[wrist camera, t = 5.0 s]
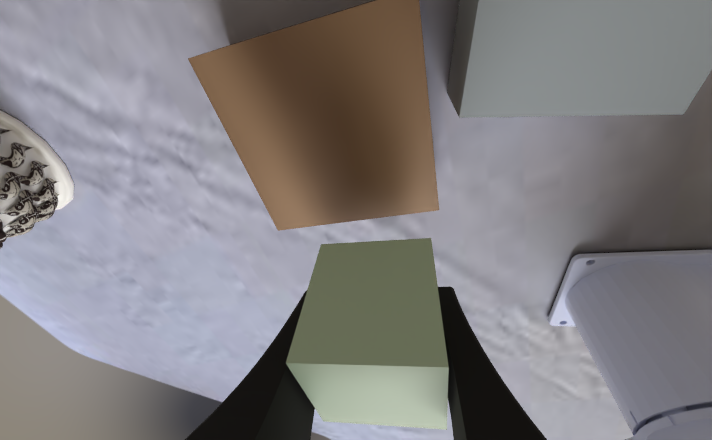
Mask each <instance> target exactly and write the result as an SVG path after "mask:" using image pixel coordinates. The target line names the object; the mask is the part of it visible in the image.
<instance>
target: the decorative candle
mask: <svg viewBox="0 0 712 440" xmlns="http://www.w3.org/2000/svg"><path fill="white" fill-rule="evenodd" d="M74 185H75V184H74V182H73V180H72V178H71V176H70V173H69V171H68V169H67V167H66V165H65V164H64V162H63V161H62V160H61V159H60V158H59V156H58V155H57V154H56V153H55V152H54V150H53V149H52V148H51V147H50V146H49V144H48V143H47V142H46V141H44V140H43V139H42V138H41V137H39V136H38V135H37V134H36V133H34V132H33V131H32V130H31V129H30V128H28V127H27V126H26V125H25V124H23V123H22V122H21V121H19V120H18V119H16V118H14V117H12V116H10V115H8V114H6V113H5V112H3V111H1V110H0V249H1V248H2V246H3V243H2V242H4V241H5V240H6V238H8V237H14V236H17V235H22V234H25V233H27V232H29V231H30V230H31V229H32V228H33V227H34V224H35V223H36V222H39V221H43V220H46V219H48V218H50V217H51V216H52V215H53V214H54V212H55V210H58V209H61V208H63V207H64V206H65V205H67V204H68V203H69V202H70V201H71V200H73V199H74Z"/></svg>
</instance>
